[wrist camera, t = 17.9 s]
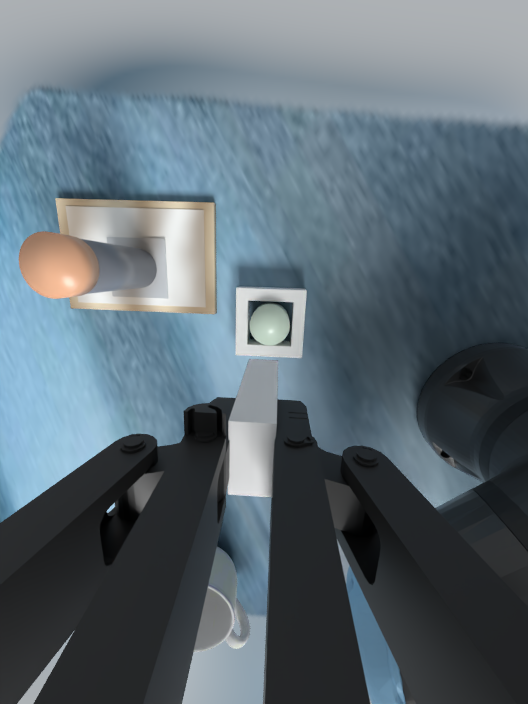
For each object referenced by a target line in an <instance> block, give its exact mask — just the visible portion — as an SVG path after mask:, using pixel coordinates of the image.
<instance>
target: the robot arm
mask: <svg viewBox="0 0 528 704" xmlns="http://www.w3.org/2000/svg"><path fill="white" fill-rule="evenodd" d="M277 388H278V360H258V359H249V361H248V364H247V367H246V370H245V373H244V376H243V379H242V382H241V385H240V388H239V391H238V394H237V397H236V398H222V397H217V398H216V399H214V400H213V401H211V402H210V403H203V404H197V405H193V406H191V407H188V408H187V409H186V410H185V411H184V431H185V435H184V437H183V439H182V441H181V442H180V443H178V444H173V445H167V446H159V447H157V440H156V439H155V438H154V437H153V436H150V435H148V434H132V435H129V436H126V437H123V438H121V439H119V440H117V441H115V442H114V443H112V444H111V445H110V446H108V447H107V448H105V449H104V450H103V451H101V452H100V453H98V454H97V455H96V456H94V457H93V458H91V459H90V460H88V461H87V462H86V463H84V464H83V465H81V466H80V467H79V468H77V469H76V470H74V471H73V472H72V473H70V474H69V475H67V476H66V477H65V478H63V479H62V480H60V481H59V482H57V483H56V484H55V485H53V486H52V487H50V488H49V489H48V490H46V491H45V492H43V493H42V494H41V495H39V496H38V497H36V498H35V499H34V500H32V501H31V502H29V503H28V504H26V505H25V506H24V507H22V508H21V509H19V510H18V511H17V512H15V513H14V514H12V515H11V516H10V517H8V518H7V519H5V520H4V521H3V522H1V523H0V704H17V703H18V701H19V700H20V699H21V698H22V697H23V695H24V694H25V693H26V691H27V690H28V689H29V688H30V686H31V685H32V683H33V682H34V681H35V680H36V679H37V677H38V676H39V675H40V674H41V672H42V671H43V670H44V668H45V667H46V666H47V665H48V663H49V662H50V661H51V659H52V658H53V657H54V656H55V654H56V653H57V652H58V651H59V649H60V648H61V647H62V645H63V644H64V643H65V642H66V640H67V639H68V638H69V637H70V635H71V634H72V633H73V631H74V630H75V631H74V633H73V634H72V636H71V638H70V640H69V642H68V643H67V645H66V647H65V649H64V650H63V652H62V654H61V656H60V658H59V659H58V661H57V663H56V665H55V667H54V668H53V670H52V672H51V674H50V675H49V677H48V679H47V681H46V683H45V684H44V686H43V688H42V690H41V692H40V693H39V695H38V697H37V699H36V700H35V702H34V704H182V700H183V696H184V691H185V687H186V683H187V678H188V673H189V669H190V664H191V660H192V656H193V651H194V647H195V642H196V638H197V633H198V629H199V624H200V620H201V615H202V611H203V606H204V602H205V597H206V593H207V588H208V584H209V579H210V575H211V570H212V566H213V561H214V557H215V553H216V548H217V544H218V539H219V535H220V530H221V526H222V521H223V517H224V512H225V508H226V490H227V486H228V494H229V495H243V496H258V497H272V501H271V520H270V547H269V572H268V596H267V620H266V621H267V622H266V644H265V670H264V693H263V704H370V701H371V703H372V704H528V349H526V348H524V347H520V346H517V345H513V344H507V343H489V344H483V345H478V346H474V347H471V348H468V349H466V350H464V351H461V352H459V353H458V354H456V355H454V356H452V357H451V358H449V359H448V360H447V361H445V362H444V363H443V364H442V365H440V366H439V367H438V368H437V369H436V370H435V372H434V373H433V374H432V375H431V376H430V378H429V379H428V381H427V382H426V384H425V386H424V388H423V390H422V392H421V395H420V398H419V402H418V408H417V418H418V424H419V428H420V431H421V433H422V435H423V437H424V439H425V440H426V442H427V443H428V444H429V445H430V446H431V448H432V449H433V450H434V451H435V452H436V454H437V455H438V456H439V457H440V458H442V459H443V460H444V461H445V462H447V463H448V464H449V465H451V466H453V467H455V468H456V469H458V470H460V471H462V472H464V473H466V474H468V475H470V476H471V477H473V478H475V479H477V480H479V481H481V482H483V483H482V484H480V485H479V486H477V487H475V488H473V489H471V490H469V491H467V492H465V493H463V494H461V495H459V496H457V497H455V498H454V499H452V500H450V501H448V502H446V503H444V504H442V505H440V506H438V507H437V508H434V507H433V506H432V505H431V504H430V502H429V501H428V500H427V499H426V498H425V497H424V496H423V495H422V494H421V493H420V492H419V491H418V490H417V489H416V488H415V487H414V486H413V484H412V483H411V482H410V481H409V480H408V479H407V478H406V477H405V476H404V475H403V474H402V473H401V472H400V471H399V470H398V469H397V467H396V466H395V465H394V464H393V463H392V462H391V461H390V460H389V459H388V458H387V457H386V456H385V455H383V454H382V453H381V452H379V451H377V450H375V449H373V448H370V447H366V446H352V447H348V448H347V449H345V450H344V451H343V454H342V456H339V455H335V454H331V453H328V452H326V451H324V450H322V449H320V448H319V447H318V445H317V442H316V440H315V438H314V437H312V435H311V430H310V425H309V419H308V414H307V408H306V406H305V405H304V404H303V403H302V402H301V401H292V400H277ZM114 503H115V507H114V508H113V509H112V510H111V511H110V512H109V513H107V512H106V511H107V510H108V509H109V507H110V506H111V505H113V504H114ZM337 540H338V542H339V545H340V547H341V549H342V551H343V553H344V555H345V557H346V559H347V561H348V563H349V568H348V572H347V579H346V582H345V577H344V572H343V567H342V562H341V557H340V553H339V548H338V543H337ZM369 698H370V699H369Z"/></svg>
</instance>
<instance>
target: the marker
mask: <svg viewBox="0 0 528 704" xmlns="http://www.w3.org/2000/svg"><path fill="white" fill-rule="evenodd" d="M19 266H20V270H21V273H22V275H23V277H24V279H25V281H26V282H27V283H28V285H29V286H30V287H31V288H32V289H33V290H34V291H36V292H37V293H39V294H40V295H42V296H45V297H48V298H53V299H58V298H67V297H75V296H82V295H85V294H90V293H99V292H108V291H118V290H127V289H136V288H144V287H147V286H149V285H150V284H151V283H152V282H153V281H154V279H155V277H156V273H157V268H156V263H155V261H154V259H153V257H152V256H151V255H150V254H149V253H148V252H147V251H145V250H143V249H140V248H134V247H128V246H121V245H115V244H109V243H103V242H97V241H91V240H85V239H79V238H77V237H74V236H70V235H64V234H58V233H52V232H37V233H34V234H32V235H31V236H29V237H28V238H27V239H26V240H25V241H24V243H23V244H22V246H21V249H20V253H19Z"/></svg>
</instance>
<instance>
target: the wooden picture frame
mask: <svg viewBox="0 0 528 704" xmlns="http://www.w3.org/2000/svg"><path fill="white" fill-rule="evenodd" d="M55 199H56V206H57V213H58V220H59V227H60V234H64V235H70V236H74V237H77V238H79V239H85V240H91V241H97V242H103V243H109V244H115V245H121V246H128V247H134V248H140V249H143V250H145V251H147V252H148V253H149V254H150V255H151V256H152V257H153V259H154V261H155V263H156V268H157V273H156V277H155V279H154V281H153V282H152V283H151V284H150V285H149V286H147V287H144V288H136V289H127V290H118V291H108V292H99V293H90V294H85V295H82V296H75V297H69V298H70V305H71V308H78V309H102V310H126V311H151V312H175V313H199V314H216V313H217V302H216V204H215V203H209V202H172V201H135V200H98V199H62V198H55Z"/></svg>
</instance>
